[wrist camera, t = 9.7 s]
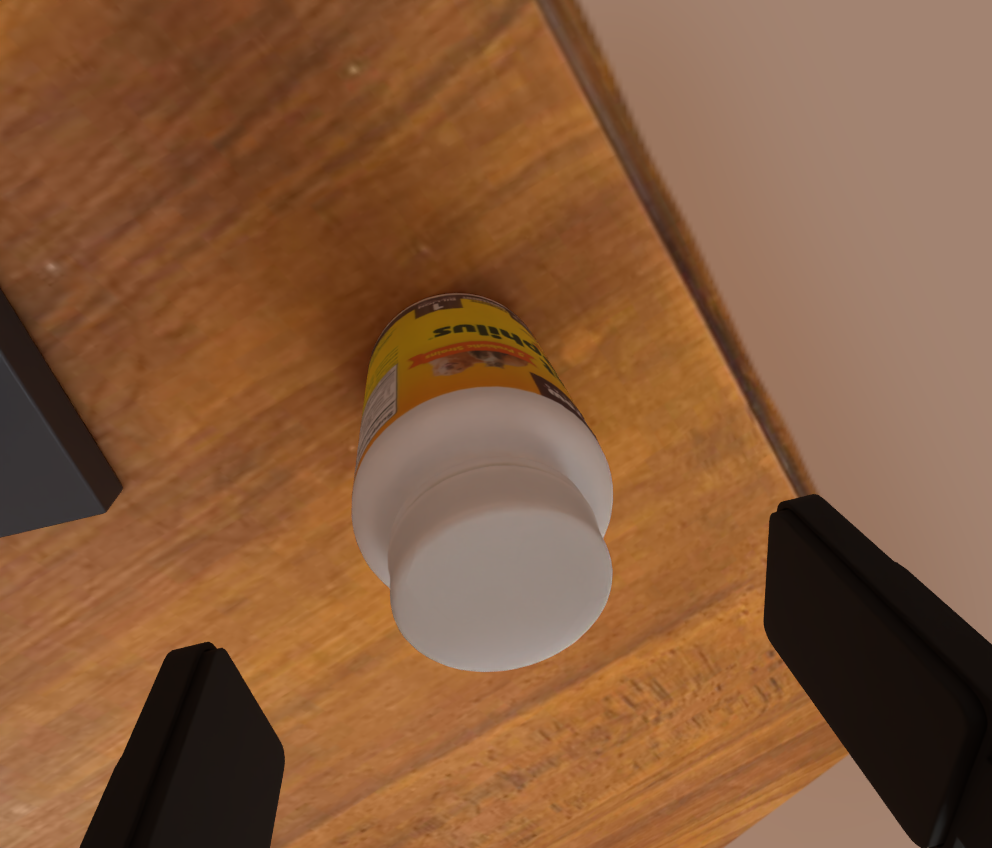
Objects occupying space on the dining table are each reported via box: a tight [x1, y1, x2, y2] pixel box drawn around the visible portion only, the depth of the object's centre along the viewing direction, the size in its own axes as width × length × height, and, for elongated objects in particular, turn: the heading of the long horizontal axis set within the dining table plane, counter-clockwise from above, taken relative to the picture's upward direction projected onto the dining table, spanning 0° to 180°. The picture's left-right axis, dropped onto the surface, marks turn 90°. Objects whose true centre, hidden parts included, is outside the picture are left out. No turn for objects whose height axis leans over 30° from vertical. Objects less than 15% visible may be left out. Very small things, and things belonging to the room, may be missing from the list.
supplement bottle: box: [352, 293, 613, 672], centre depth 15 cm, size 6×6×10 cm
